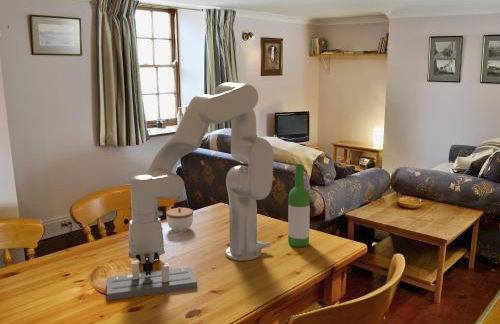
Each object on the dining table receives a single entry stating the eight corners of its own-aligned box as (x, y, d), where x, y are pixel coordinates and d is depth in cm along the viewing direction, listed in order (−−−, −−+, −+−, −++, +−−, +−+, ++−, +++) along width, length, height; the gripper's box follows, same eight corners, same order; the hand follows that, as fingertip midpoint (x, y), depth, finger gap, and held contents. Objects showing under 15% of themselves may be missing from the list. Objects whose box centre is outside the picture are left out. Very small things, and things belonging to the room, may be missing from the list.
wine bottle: (288, 239, 180) (289, 162, 173) (309, 240, 178) (310, 163, 172) (287, 247, 172) (287, 167, 166) (308, 248, 171) (310, 167, 165)
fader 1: (139, 275, 145) (138, 259, 144) (139, 278, 143) (138, 263, 142) (132, 276, 145) (131, 260, 144) (132, 279, 142) (131, 263, 141)
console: (191, 272, 152) (191, 266, 152) (197, 287, 142) (197, 281, 142) (107, 283, 145) (107, 277, 145) (107, 300, 135) (106, 293, 135)
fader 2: (168, 278, 143) (167, 262, 142) (169, 281, 141) (168, 265, 140) (161, 278, 143) (161, 263, 142) (162, 282, 140) (161, 266, 139)
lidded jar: (191, 234, 186) (191, 211, 184) (164, 234, 186) (163, 211, 184) (195, 225, 196) (194, 203, 194) (169, 225, 196) (168, 203, 194)
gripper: (168, 210, 146) (171, 265, 150) (118, 214, 142) (122, 271, 146) (171, 217, 139) (174, 275, 143) (119, 222, 135) (123, 282, 139)
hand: (148, 273), depth 145 cm, fingers closed
